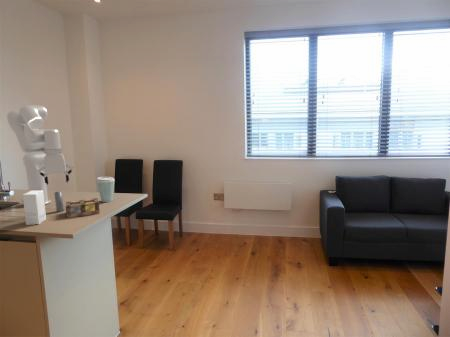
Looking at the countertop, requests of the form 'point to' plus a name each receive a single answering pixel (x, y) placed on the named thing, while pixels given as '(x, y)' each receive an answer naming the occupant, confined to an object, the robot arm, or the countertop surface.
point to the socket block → (82, 207)
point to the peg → (59, 201)
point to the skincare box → (34, 207)
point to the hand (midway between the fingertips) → (57, 183)
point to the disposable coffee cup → (106, 188)
